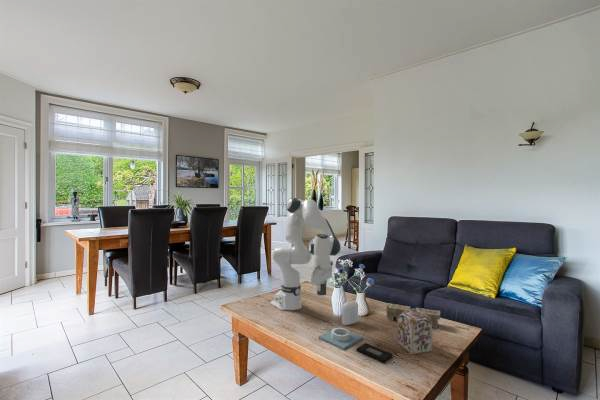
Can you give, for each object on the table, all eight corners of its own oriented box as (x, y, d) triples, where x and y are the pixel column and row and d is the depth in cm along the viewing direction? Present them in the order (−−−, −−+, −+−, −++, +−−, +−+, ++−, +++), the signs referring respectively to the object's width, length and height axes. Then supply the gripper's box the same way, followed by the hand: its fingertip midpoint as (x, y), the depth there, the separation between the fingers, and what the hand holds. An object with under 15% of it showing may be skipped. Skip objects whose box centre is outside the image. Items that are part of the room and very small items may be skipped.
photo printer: (353, 319, 176) (354, 298, 176) (359, 322, 172) (359, 301, 172) (340, 323, 170) (340, 302, 170) (345, 326, 167) (346, 304, 167)
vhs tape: (365, 347, 145) (365, 342, 145) (392, 358, 135) (392, 354, 135) (356, 352, 140) (356, 348, 140) (383, 365, 130) (383, 360, 130)
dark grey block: (317, 292, 167) (317, 281, 167) (326, 292, 166) (326, 281, 166) (316, 295, 162) (317, 283, 162) (326, 295, 161) (326, 284, 161)
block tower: (385, 321, 177) (440, 329, 164) (385, 307, 177) (439, 314, 164) (388, 316, 184) (440, 324, 171) (387, 302, 184) (440, 309, 171)
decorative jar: (411, 355, 137) (411, 316, 137) (396, 343, 148) (396, 307, 148) (433, 351, 140) (433, 313, 140) (416, 340, 151) (417, 304, 151)
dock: (318, 338, 152) (318, 331, 152) (338, 328, 164) (338, 322, 164) (343, 349, 141) (343, 342, 141) (362, 338, 152) (362, 332, 152)
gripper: (319, 268, 153) (318, 295, 153) (334, 261, 171) (334, 285, 171) (308, 266, 156) (307, 293, 156) (324, 260, 174) (324, 283, 174)
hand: (321, 289), depth 164 cm, fingers closed on dark grey block, 5 cm apart
